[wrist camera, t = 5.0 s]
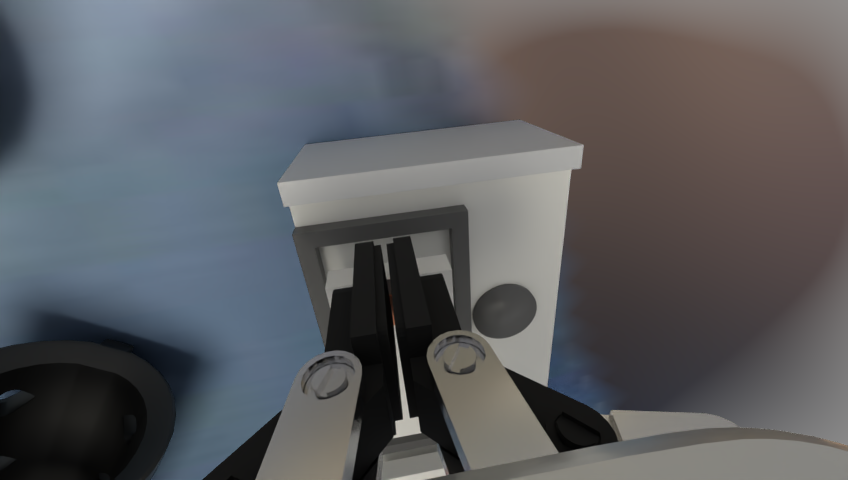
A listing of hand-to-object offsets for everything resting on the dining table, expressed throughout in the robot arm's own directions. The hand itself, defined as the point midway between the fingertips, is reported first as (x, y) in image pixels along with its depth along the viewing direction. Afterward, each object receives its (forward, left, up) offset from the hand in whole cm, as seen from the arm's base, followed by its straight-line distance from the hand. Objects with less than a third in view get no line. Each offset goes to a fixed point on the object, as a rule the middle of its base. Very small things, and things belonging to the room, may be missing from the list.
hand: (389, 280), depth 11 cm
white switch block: (-10, -2, -7) cm, 13 cm away
